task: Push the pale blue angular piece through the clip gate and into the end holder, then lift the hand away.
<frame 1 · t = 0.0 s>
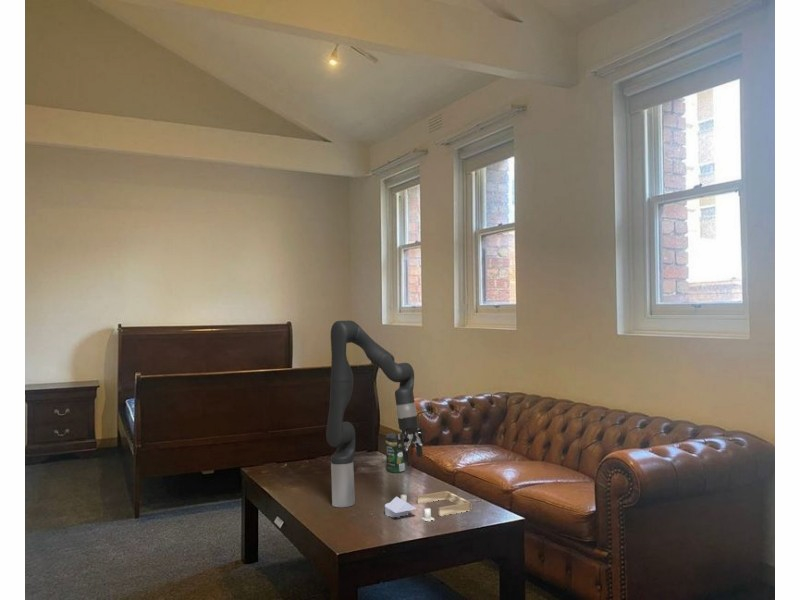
hand: (413, 459, 231), 22 cm above the table, tool pointing down, fingers open, 8 cm apart
clip gate: (415, 512, 239), on the table
end holder: (442, 507, 244), on the table
pale blue angular piece: (399, 515, 236), on the table
coffee jar: (395, 471, 304), on the table
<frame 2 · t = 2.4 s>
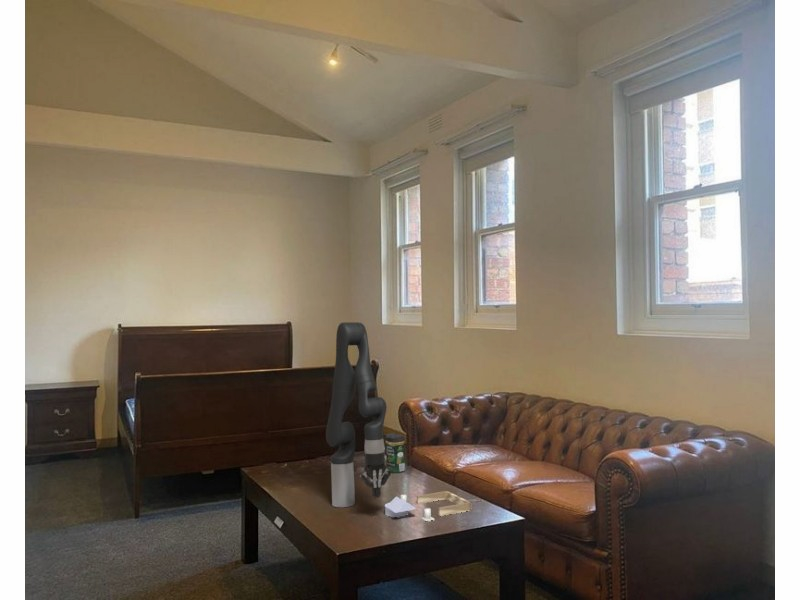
hand: (376, 497, 232), 8 cm above the table, tool pointing down, fingers closed
nothing on the table moved.
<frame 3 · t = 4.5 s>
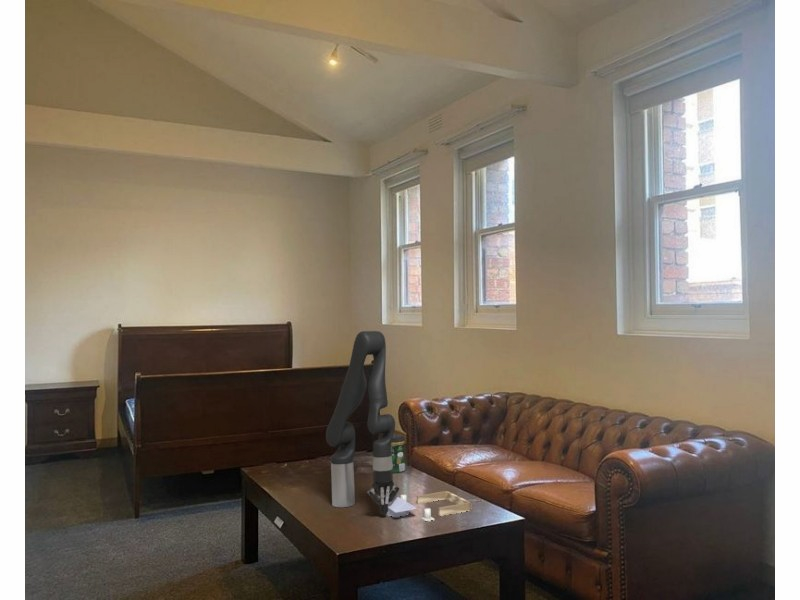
hand: (383, 513, 233), 2 cm above the table, tool pointing down, fingers closed
pale blue angular piece: (399, 515, 236), on the table, touching gripper
everything else where it was.
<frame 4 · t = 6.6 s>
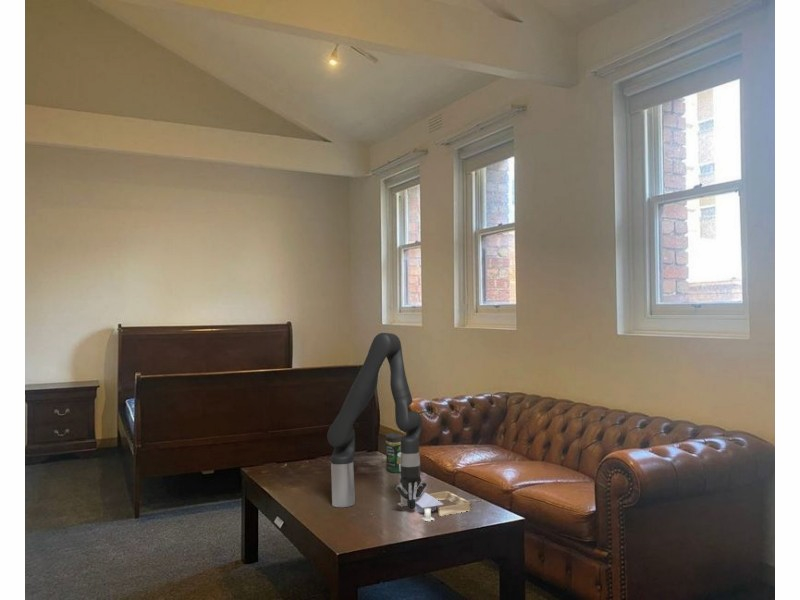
hand: (411, 508, 238), 2 cm above the table, tool pointing down, fingers closed
pale blue angular piece: (426, 510, 241), on the table, touching gripper
everything else where it was.
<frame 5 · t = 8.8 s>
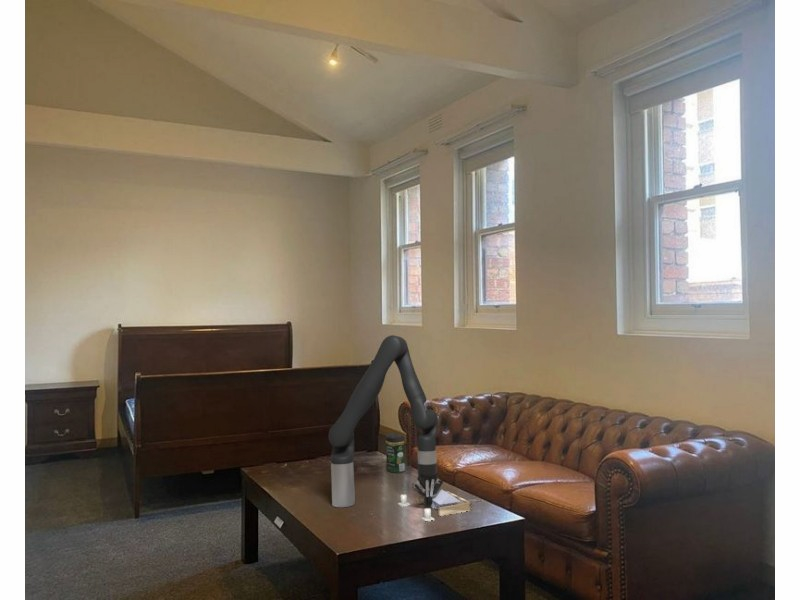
hand: (428, 505, 242), 1 cm above the table, tool pointing down, fingers closed
pale blue angular piece: (443, 507, 244), on the table, touching gripper
everything else where it was.
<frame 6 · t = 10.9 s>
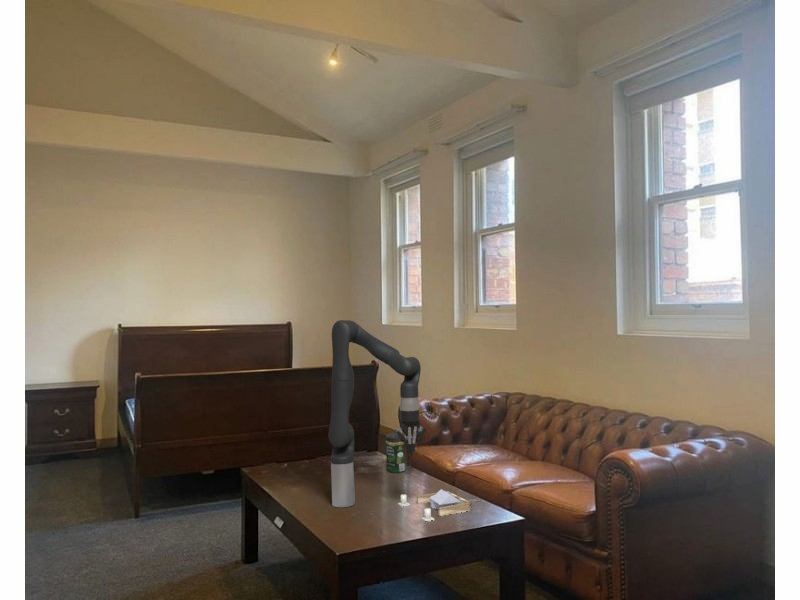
hand: (410, 453, 239), 23 cm above the table, tool pointing down, fingers closed
pale blue angular piece: (443, 507, 244), on the table
everything else where it was.
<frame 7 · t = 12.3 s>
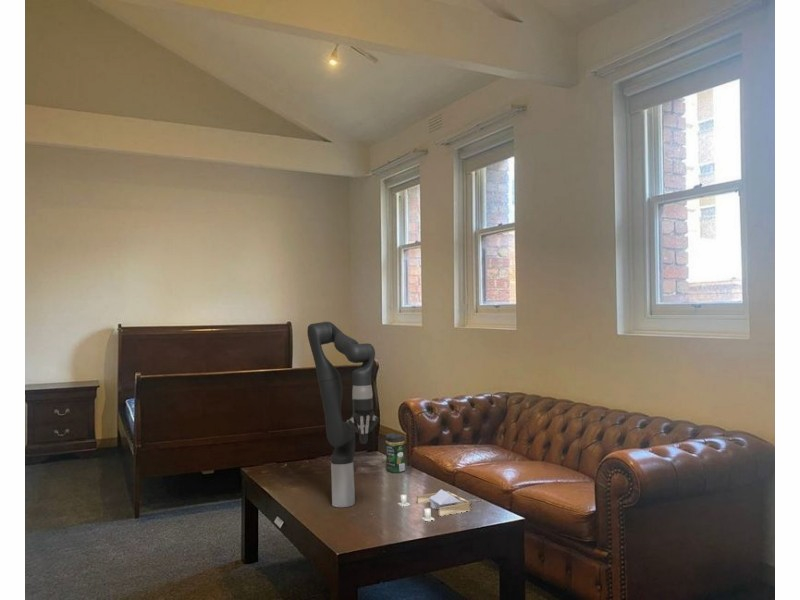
hand: (363, 443, 230), 29 cm above the table, tool pointing down, fingers closed
nothing on the table moved.
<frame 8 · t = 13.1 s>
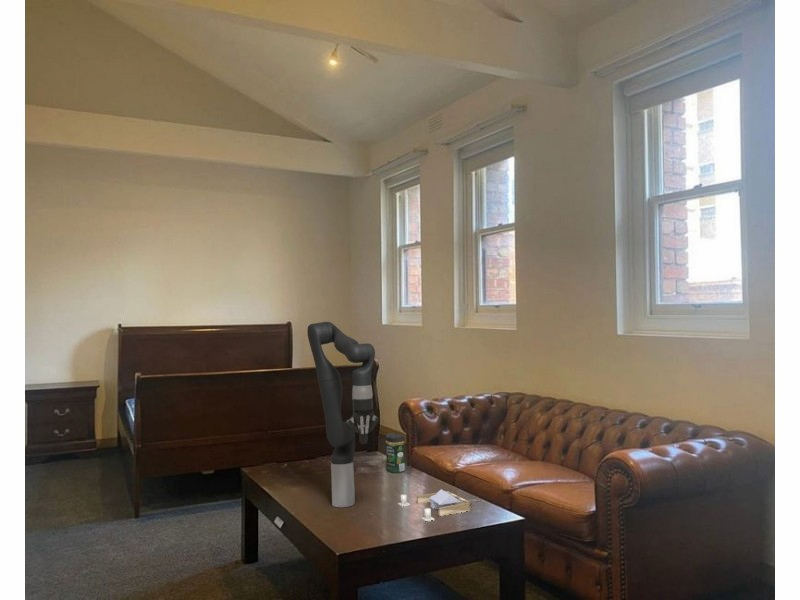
hand: (363, 443, 230), 29 cm above the table, tool pointing down, fingers closed
nothing on the table moved.
at the end: pale blue angular piece inside the target area (0.6 cm from its centre), on the table; pale blue angular piece moved 19.4 cm from its start; the gripper is holding nothing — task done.
